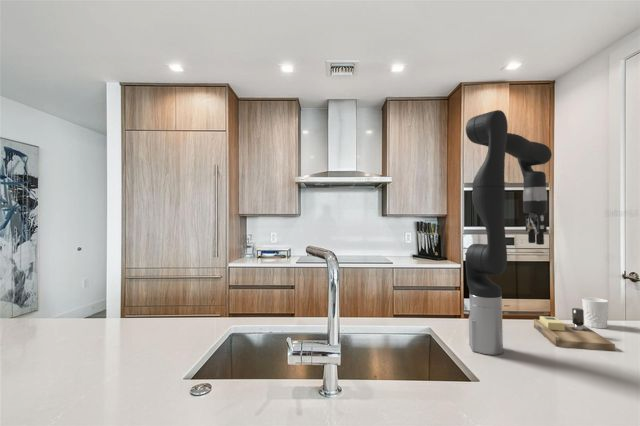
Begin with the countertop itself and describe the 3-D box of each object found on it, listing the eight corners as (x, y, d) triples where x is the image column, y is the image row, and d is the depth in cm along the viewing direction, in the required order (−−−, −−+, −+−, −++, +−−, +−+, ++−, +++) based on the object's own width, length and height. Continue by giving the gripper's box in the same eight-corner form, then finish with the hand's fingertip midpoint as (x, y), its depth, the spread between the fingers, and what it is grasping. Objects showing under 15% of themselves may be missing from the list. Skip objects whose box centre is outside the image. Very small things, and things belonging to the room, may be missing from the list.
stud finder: (548, 329, 118) (548, 322, 118) (539, 322, 126) (539, 315, 126) (564, 330, 117) (564, 323, 117) (555, 323, 124) (555, 316, 124)
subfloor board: (555, 346, 108) (555, 336, 108) (533, 327, 128) (533, 319, 128) (615, 350, 104) (614, 341, 104) (583, 330, 123) (582, 322, 124)
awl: (575, 336, 118) (574, 310, 118) (571, 333, 121) (570, 307, 121) (586, 336, 117) (585, 310, 117) (581, 333, 120) (580, 308, 120)
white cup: (577, 323, 131) (576, 298, 131) (591, 321, 133) (591, 296, 134) (599, 330, 123) (598, 302, 124) (614, 327, 126) (613, 301, 126)
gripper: (517, 201, 133) (518, 242, 132) (529, 199, 119) (531, 245, 119) (539, 200, 131) (540, 242, 130) (554, 198, 117) (555, 245, 117)
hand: (535, 243), depth 124 cm, fingers open, 8 cm apart
